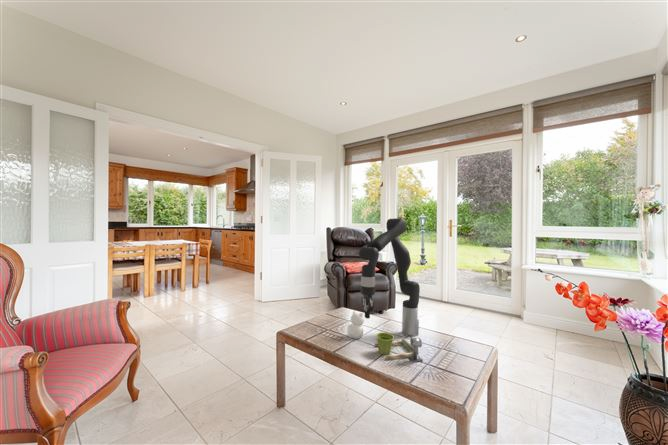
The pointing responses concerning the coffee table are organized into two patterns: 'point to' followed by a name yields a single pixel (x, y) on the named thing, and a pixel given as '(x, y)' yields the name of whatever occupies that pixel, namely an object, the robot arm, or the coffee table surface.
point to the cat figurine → (356, 325)
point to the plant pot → (384, 343)
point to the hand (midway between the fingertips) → (367, 317)
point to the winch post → (415, 348)
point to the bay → (399, 356)
